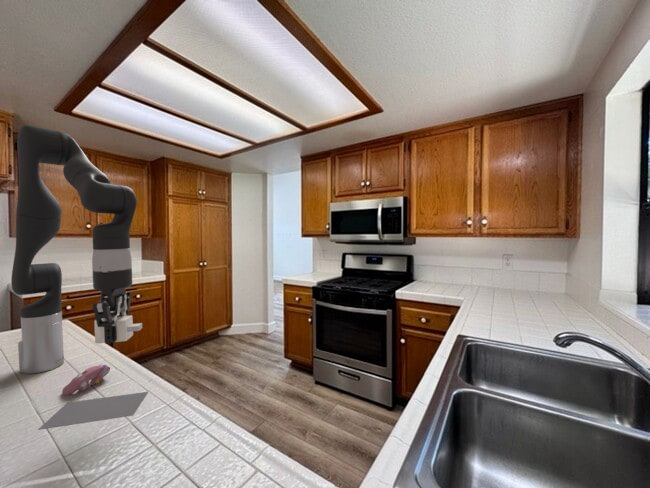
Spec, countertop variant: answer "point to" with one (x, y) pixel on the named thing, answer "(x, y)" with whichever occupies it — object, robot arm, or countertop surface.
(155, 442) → the countertop surface
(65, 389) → the video game controller
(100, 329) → the plug block
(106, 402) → the rubber mat
